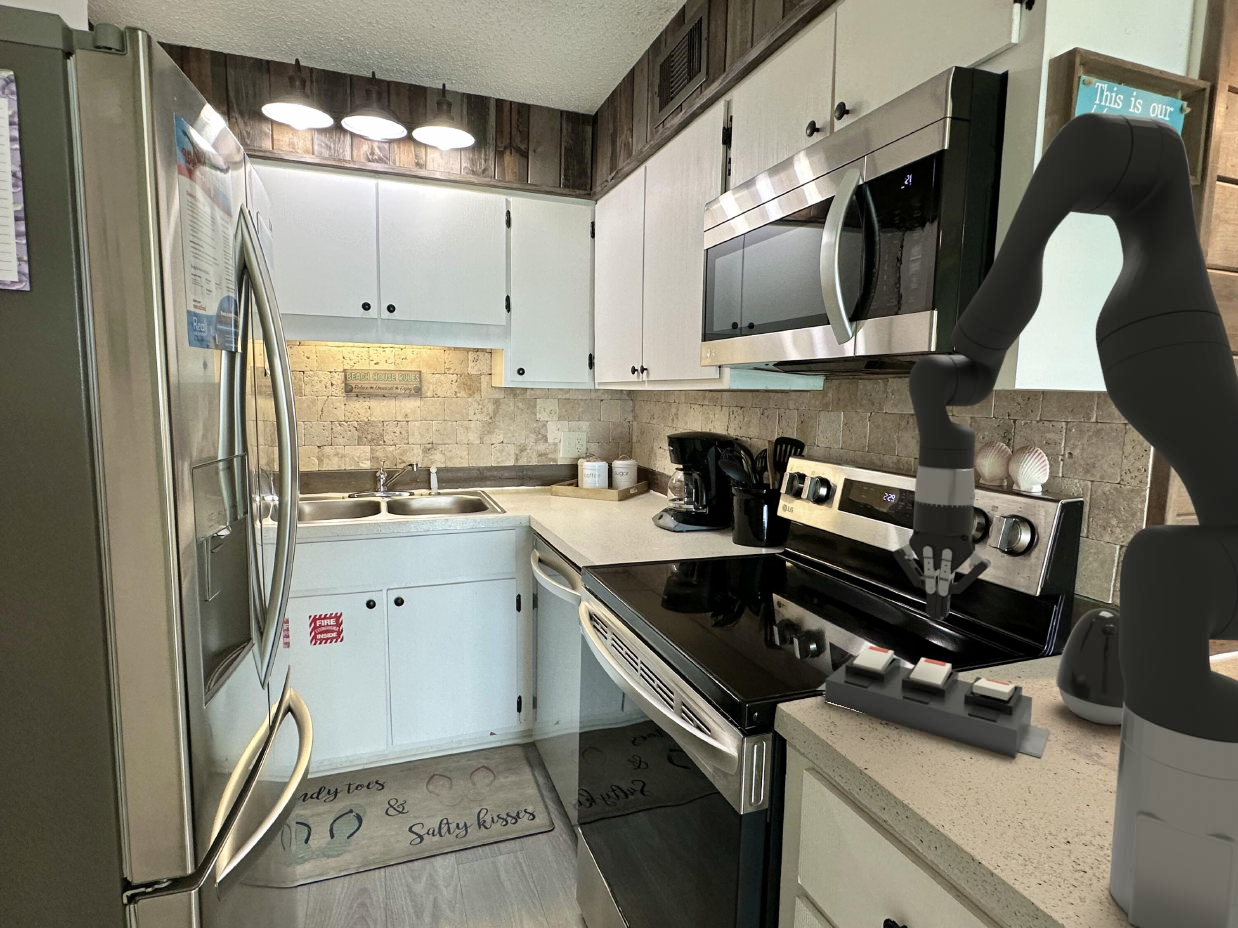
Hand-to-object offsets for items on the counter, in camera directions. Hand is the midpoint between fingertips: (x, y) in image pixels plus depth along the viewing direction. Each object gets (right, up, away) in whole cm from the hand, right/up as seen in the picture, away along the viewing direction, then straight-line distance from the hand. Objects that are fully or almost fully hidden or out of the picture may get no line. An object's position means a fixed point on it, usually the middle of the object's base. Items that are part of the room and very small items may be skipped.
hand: (937, 618), depth 98 cm
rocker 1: (-8, -7, +4) cm, 11 cm away
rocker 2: (+5, -8, -6) cm, 11 cm away
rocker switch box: (-3, -13, -2) cm, 13 cm away
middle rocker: (-1, -8, -1) cm, 8 cm away
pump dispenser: (+21, -13, -3) cm, 25 cm away
